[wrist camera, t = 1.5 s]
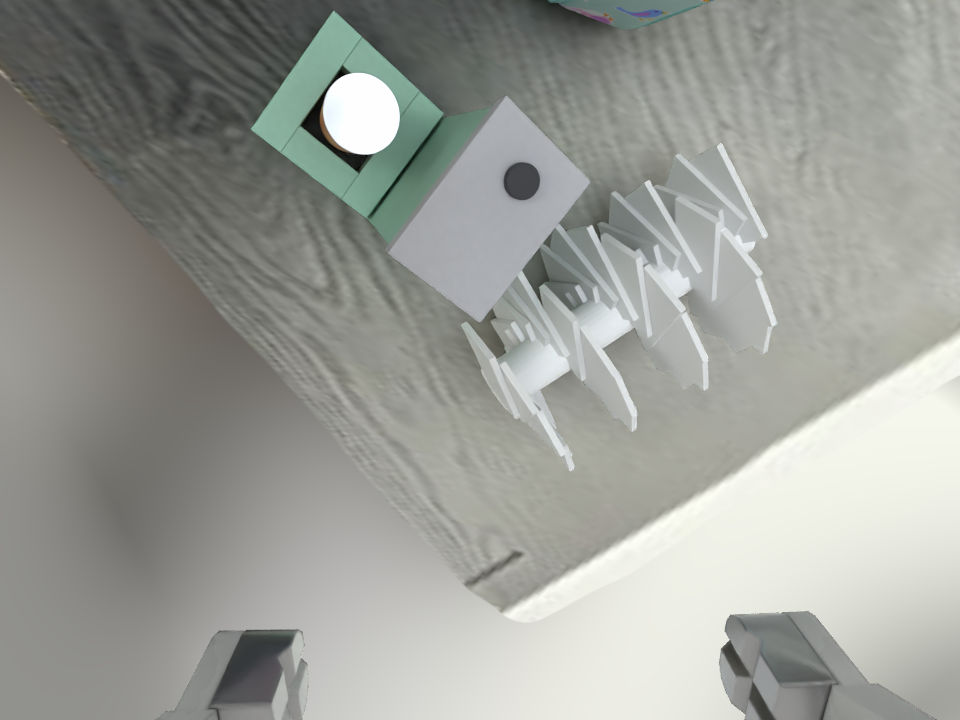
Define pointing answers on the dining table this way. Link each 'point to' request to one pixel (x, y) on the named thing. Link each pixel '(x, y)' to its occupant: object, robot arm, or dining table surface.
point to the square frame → (304, 89)
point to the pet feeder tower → (477, 204)
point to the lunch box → (629, 10)
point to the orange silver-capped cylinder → (359, 114)
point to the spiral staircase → (634, 294)
